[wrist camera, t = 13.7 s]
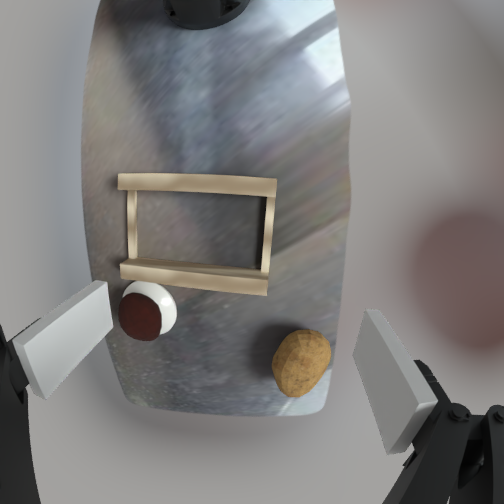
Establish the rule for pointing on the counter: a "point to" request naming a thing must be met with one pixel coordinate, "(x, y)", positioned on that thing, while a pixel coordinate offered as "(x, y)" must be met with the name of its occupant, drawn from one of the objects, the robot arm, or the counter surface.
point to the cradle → (195, 272)
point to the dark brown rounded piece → (140, 316)
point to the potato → (300, 362)
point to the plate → (157, 301)
